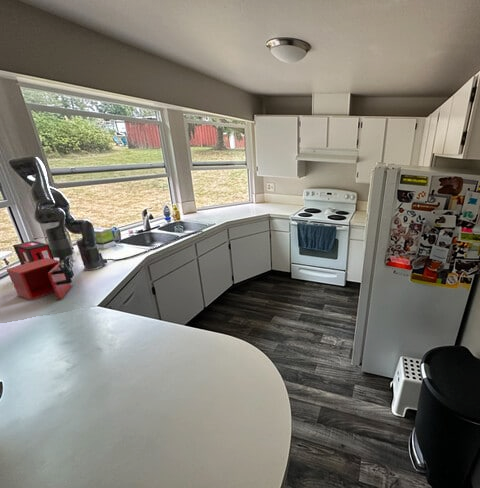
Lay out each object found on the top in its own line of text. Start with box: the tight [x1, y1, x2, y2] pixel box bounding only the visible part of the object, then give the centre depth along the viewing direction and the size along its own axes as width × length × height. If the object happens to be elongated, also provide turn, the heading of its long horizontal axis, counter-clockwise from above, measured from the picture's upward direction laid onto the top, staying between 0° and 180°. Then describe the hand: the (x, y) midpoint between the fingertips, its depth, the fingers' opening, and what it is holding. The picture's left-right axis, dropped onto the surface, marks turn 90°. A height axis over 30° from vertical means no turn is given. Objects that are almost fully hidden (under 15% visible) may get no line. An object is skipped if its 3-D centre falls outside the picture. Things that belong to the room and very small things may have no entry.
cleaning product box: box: [12, 240, 55, 265], centre depth 154 cm, size 16×9×20 cm, turn 70°
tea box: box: [93, 226, 116, 250], centre depth 202 cm, size 15×10×15 cm, turn 80°
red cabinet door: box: [48, 263, 73, 301], centre depth 137 cm, size 6×16×16 cm, turn 29°
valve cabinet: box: [5, 258, 59, 301], centre depth 137 cm, size 12×16×16 cm
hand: (70, 277), depth 134 cm, fingers closed on red cabinet door, 2 cm apart
